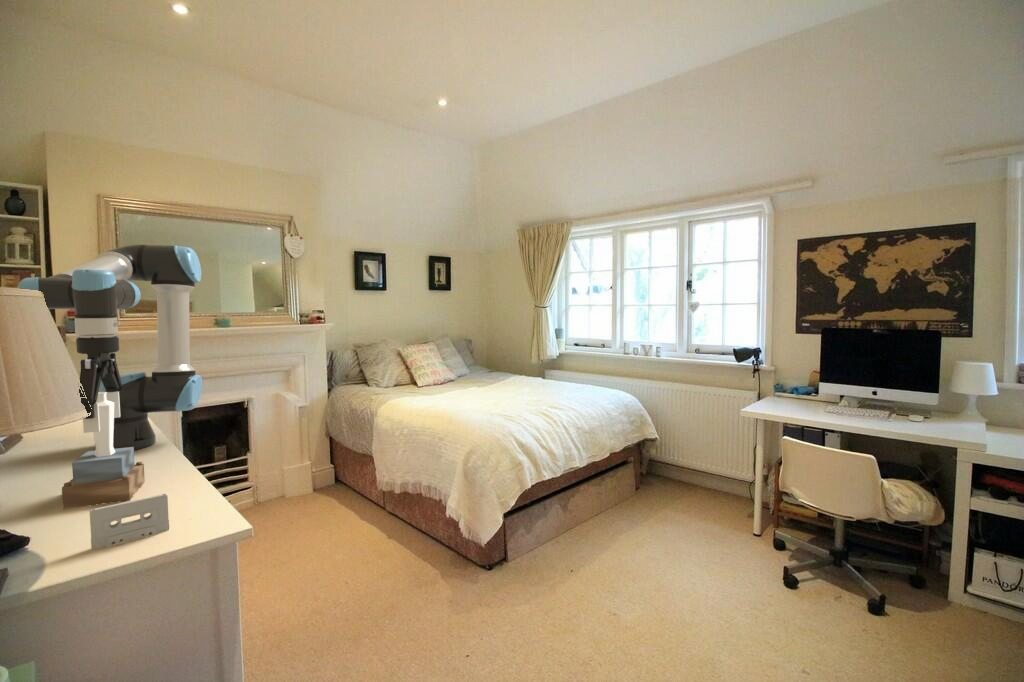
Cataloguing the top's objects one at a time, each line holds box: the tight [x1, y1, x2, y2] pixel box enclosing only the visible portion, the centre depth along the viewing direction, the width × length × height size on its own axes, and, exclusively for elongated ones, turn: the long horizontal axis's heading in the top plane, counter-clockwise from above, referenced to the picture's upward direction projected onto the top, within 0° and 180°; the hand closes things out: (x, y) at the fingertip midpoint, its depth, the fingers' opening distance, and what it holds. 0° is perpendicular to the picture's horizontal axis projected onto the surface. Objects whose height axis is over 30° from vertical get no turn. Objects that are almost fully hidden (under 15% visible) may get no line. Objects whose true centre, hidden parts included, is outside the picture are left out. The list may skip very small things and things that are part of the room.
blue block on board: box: [61, 447, 145, 510], centre depth 113 cm, size 12×12×10 cm
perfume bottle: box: [92, 392, 115, 457], centre depth 112 cm, size 5×4×15 cm
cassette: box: [89, 493, 170, 551], centre depth 93 cm, size 12×2×8 cm, turn 132°
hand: (103, 424), depth 112 cm, fingers open, 13 cm apart
